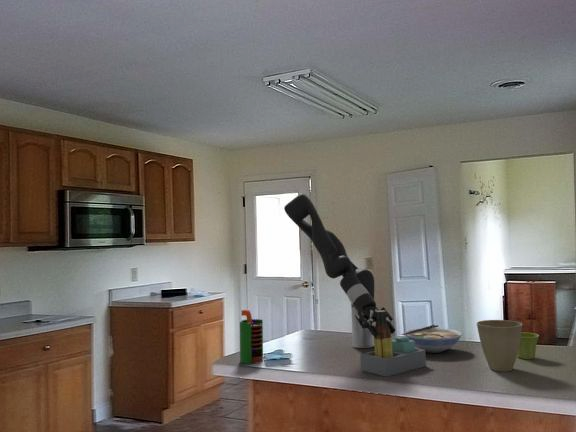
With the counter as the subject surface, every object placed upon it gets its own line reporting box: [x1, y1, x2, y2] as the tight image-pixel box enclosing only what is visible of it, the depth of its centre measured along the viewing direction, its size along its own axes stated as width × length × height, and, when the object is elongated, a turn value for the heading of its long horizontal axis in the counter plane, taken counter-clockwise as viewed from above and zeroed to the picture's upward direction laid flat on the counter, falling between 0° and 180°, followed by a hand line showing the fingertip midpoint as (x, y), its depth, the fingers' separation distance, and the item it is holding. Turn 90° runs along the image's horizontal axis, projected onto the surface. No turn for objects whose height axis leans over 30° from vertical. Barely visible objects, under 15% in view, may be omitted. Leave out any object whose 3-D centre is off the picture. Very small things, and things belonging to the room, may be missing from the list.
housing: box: [359, 347, 427, 377], centre depth 198 cm, size 21×12×6 cm, turn 127°
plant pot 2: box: [516, 331, 540, 360], centre depth 207 cm, size 9×9×9 cm
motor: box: [239, 309, 264, 365], centre depth 217 cm, size 10×9×20 cm
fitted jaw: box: [392, 335, 416, 354], centre depth 201 cm, size 6×7×9 cm
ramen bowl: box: [400, 324, 463, 354], centre depth 224 cm, size 25×23×8 cm
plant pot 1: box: [476, 319, 523, 373], centre depth 192 cm, size 15×15×16 cm
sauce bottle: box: [374, 309, 393, 358], centre depth 196 cm, size 6×6×20 cm
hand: (385, 334), depth 194 cm, fingers open, 8 cm apart
